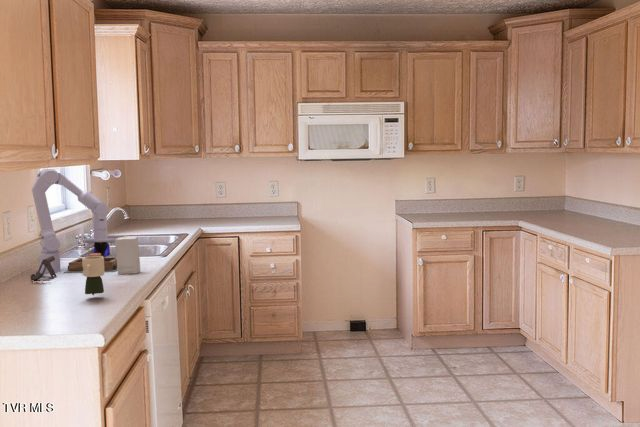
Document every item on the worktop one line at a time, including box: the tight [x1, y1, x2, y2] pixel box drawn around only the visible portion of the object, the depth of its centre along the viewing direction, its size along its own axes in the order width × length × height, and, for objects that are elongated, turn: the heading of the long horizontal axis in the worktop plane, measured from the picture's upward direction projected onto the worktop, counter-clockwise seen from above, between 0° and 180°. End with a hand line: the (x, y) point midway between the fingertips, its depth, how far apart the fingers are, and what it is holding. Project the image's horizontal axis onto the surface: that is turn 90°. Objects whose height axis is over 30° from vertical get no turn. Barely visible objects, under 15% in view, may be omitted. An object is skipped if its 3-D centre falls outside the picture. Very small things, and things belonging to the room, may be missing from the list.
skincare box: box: [114, 236, 141, 275], centre depth 253 cm, size 8×6×15 cm
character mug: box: [81, 256, 106, 296], centre depth 212 cm, size 11×7×13 cm, turn 0°
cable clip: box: [93, 243, 111, 257], centre depth 295 cm, size 12×4×6 cm, turn 179°
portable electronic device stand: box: [30, 256, 58, 282], centre depth 244 cm, size 9×8×8 cm
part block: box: [88, 252, 101, 257], centre depth 264 cm, size 4×4×5 cm
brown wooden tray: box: [67, 256, 117, 271], centre depth 264 cm, size 14×20×3 cm
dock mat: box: [63, 269, 118, 274], centre depth 264 cm, size 16×21×1 cm
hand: (101, 259), depth 273 cm, fingers closed
